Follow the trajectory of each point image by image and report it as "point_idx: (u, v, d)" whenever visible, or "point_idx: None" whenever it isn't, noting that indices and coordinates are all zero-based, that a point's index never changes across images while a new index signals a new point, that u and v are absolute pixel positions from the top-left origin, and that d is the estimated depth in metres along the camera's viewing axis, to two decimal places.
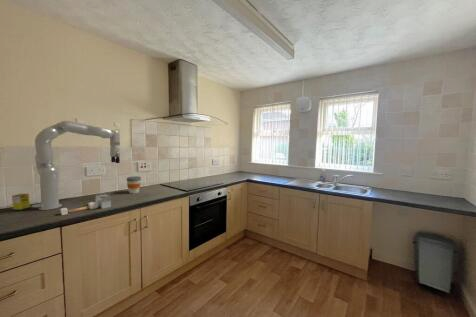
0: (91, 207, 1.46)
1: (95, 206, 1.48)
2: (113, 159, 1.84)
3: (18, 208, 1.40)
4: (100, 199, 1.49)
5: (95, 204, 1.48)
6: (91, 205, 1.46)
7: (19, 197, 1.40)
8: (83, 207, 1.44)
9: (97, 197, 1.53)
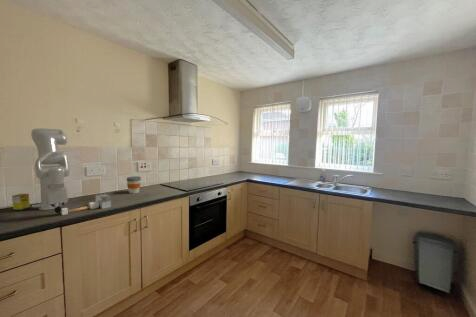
0: (91, 207, 1.47)
1: (95, 206, 1.49)
2: None
3: (18, 208, 1.40)
4: (100, 199, 1.49)
5: (95, 204, 1.48)
6: (91, 205, 1.46)
7: (19, 197, 1.40)
8: (83, 207, 1.44)
9: (97, 197, 1.53)
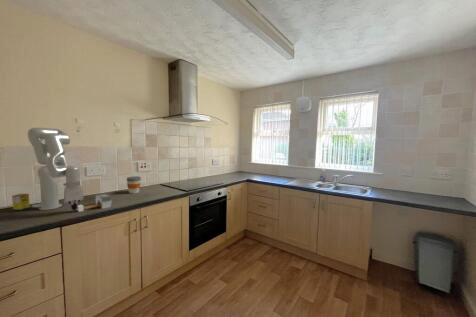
0: None
1: None
2: None
3: (18, 208, 1.40)
4: (100, 199, 1.49)
5: None
6: None
7: (19, 197, 1.40)
8: (97, 204, 1.51)
9: (97, 197, 1.53)
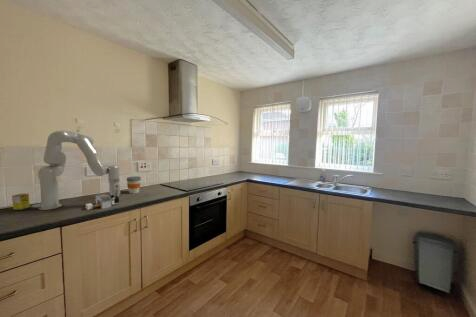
0: (112, 202, 1.59)
1: None
2: None
3: (18, 208, 1.40)
4: (100, 199, 1.49)
5: None
6: (112, 200, 1.58)
7: (19, 197, 1.40)
8: None
9: (97, 197, 1.53)
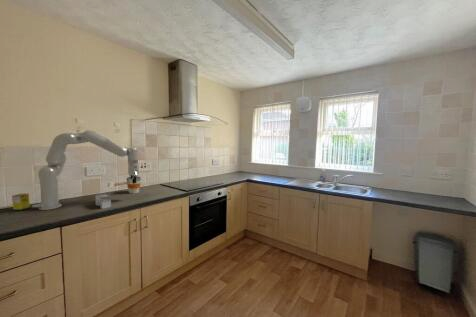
0: (131, 182, 1.68)
1: None
2: None
3: (18, 208, 1.40)
4: (100, 199, 1.49)
5: None
6: (131, 180, 1.68)
7: (19, 197, 1.40)
8: (125, 182, 1.66)
9: (97, 197, 1.53)
